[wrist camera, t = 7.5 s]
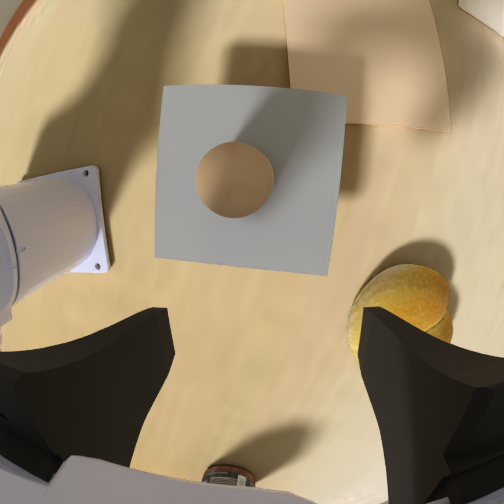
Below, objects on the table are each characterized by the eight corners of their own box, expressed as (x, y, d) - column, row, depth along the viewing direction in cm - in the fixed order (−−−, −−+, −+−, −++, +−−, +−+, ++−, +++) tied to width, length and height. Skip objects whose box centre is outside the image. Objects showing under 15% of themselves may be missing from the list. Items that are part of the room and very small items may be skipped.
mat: (292, 122, 18) (292, 121, 17) (280, -17, 15) (280, -21, 14) (448, 132, 17) (451, 132, 16) (425, 0, 14) (428, -3, 13)
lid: (160, 253, 17) (124, 281, 12) (169, 89, 14) (132, 67, 10) (324, 270, 16) (338, 307, 12) (343, 99, 14) (366, 76, 9)
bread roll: (435, 244, 19) (462, 261, 15) (445, 343, 21) (465, 369, 17) (330, 282, 21) (340, 308, 17) (356, 377, 23) (365, 410, 19)
